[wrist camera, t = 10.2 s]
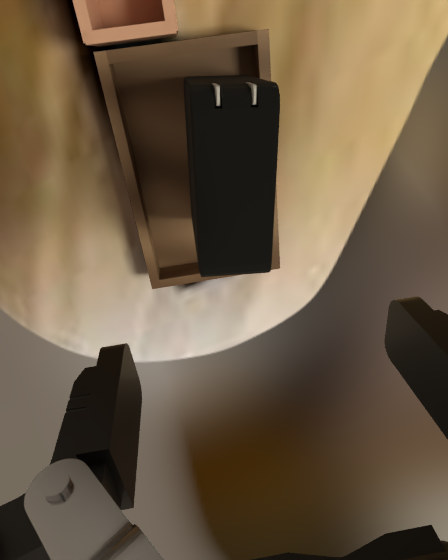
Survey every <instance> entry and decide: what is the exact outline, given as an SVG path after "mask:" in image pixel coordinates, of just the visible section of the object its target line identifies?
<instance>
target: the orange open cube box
mask: <svg viewBox="0 0 448 560" xmlns="http://www.w3.org/2000/svg"><path fill="white" fill-rule="evenodd" d="M73 4H74V8H75V12H76V15H77V19H78V23H79V27H80V31H81V35H82V39H83V43H86V45H90V46H98V47H103V46H111V45H118V44H126V43H133V42H141V41H148V40H156V39H163V38H171V37H176V35H177V33H178V26H177V19H176V13H175V6H174V0H73Z"/></svg>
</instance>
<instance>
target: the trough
mask: <svg viewBox="0 0 448 560" xmlns="http://www.w3.org/2000/svg"><path fill="white" fill-rule="evenodd" d="M94 56H95V60H96V64H97V68H98V72H99V76H100V81H101V85H102V89H103V93H104V97H105V101H106V105H107V109H108V113H109V117H110V121H111V125H112V129H113V133H114V137H115V141H116V145H117V149H118V153H119V157H120V161H121V165H122V169H123V173H124V177H125V181H126V185H127V189H128V193H129V197H130V201H131V205H132V209H133V213H134V217H135V221H136V225H137V229H138V233H139V237H140V241H141V246H142V250H143V254H144V258H145V262H146V266H147V270H148V274H149V278H150V282H151V286H152V289H155V288H162V287H168V286H174V285H180V284H186V283H192V282H199V281H205V280H211V279H217V278H223V277H229V276H236V275H226V276H212V277H201V275H200V272H199V268H198V261H197V253H196V246H195V239H194V231H193V224H192V215H191V200H190V184H189V168H188V151H187V135H186V119H185V102H184V78H185V77H188V76H230V75H248V76H252V77H256V78H260V79H263V80H267V81H271V69H270V48H269V29H264V30H256V31H249V32H241V33H234V34H226V35H219V36H211V37H204V38H196V39H189V40H181V41H174V42H166V43H159V44H151V45H144V46H136V47H129V48H121V49H114V50H106V51H99V52H94ZM279 268H280V257H279V236H278V215H277V194H276V191H275V210H274V229H273V249H272V265H271V270H273V269H279ZM239 275H242V274H239Z"/></svg>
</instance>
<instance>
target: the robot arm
mask: <svg viewBox="0 0 448 560" xmlns="http://www.w3.org/2000/svg"><path fill="white" fill-rule="evenodd" d="M385 348H386V352H387V354H388V357H389V358H390V360H391V362H392V363H393V364H394V366H395V367H396V369H397V370H398V371H399V372H400V374H401V375H402V377H403V378H404V379H405V381H406V382H407V384H408V385H409V386H410V388H411V389H412V391H413V392H414V393H415V395H416V396H417V398H418V399H419V400H420V402H421V403H422V405H423V406H424V407H425V409H426V410H427V411H428V413H429V414H430V416H431V417H432V418H433V420H434V421H435V423H436V424H437V425H438V427H439V428H440V429H441V431H442V432H443V434H444V435H445V436H446V438H447V439H448V315H447V314H446V313H444V312H442V311H440V310H435V311H434V310H433V309H432V308H430V306H429V305H428V304H427V303H426V302H424V301H423V300H422V299H421V298H420V297H411V298H404V299H398V300H393V301H391V303H390V305H389V311H388V319H387V327H386V334H385ZM141 405H142V392H141V385H140V381H139V377H138V374H137V371H136V367H135V364H134V361H133V357H132V354H131V351H130V348H129V346H128V344H127V343H126V344H120V345H114V346H108V347H102V348H101V349H100V352H99V357H98V361H97V365H96V366H94V367H88V368H85V369H84V370H83V371H82V373H81V374H80V375H79V376H78V378H77V379H76V380H75V382H74V384H73V388H72V391H71V394H70V400H69V401H68V405H67V408H66V413H65V415H64V419H63V422H62V426H61V429H60V432H59V436H58V439H57V443H56V446H55V450H54V453H53V457H52V460H51V463H50V465H49V466H47V467H46V468H45V469H43V470H42V471H41V472H40V473H39V474H38V475H37V476H36V477H35V478H34V479H33V481H32V482H31V484H30V485H29V487H28V489H27V491H26V493H25V494H23V495H22V496H20V497H18V498H16V499H15V500H12V501H10V502H8V503H6V504H4V505H2V506H0V560H164V559H163V558H162V557H161V555H160V554H159V553H158V551H157V550H156V549H155V547H154V546H153V545H152V544H151V542H150V541H149V540H148V538H147V537H146V536H145V535H144V533H143V532H142V531H141V530H140V528H139V527H138V526H137V525H135V524H134V525H132V524H131V523H130V522H129V520H128V519H127V518H126V516H125V515H124V514H123V513H122V511H121V510H124V509H129V508H133V507H134V495H135V482H136V469H137V457H138V444H139V431H140V418H141ZM253 560H448V542H446V541H440V539H439V538H438V536H437V534H436V532H435V530H434V529H433V527H432V525H428V526H423V527H418V528H413V529H407V530H403V531H397V532H392V533H387V534H384V535H382V536H380V537H379V538H377V539H375V540H373V541H372V542H370V543H368V544H366V545H364V546H363V547H361V548H359V549H357V550H356V551H354V552H352V553H350V554H348V555H347V556H344V557H326V556H317V555H307V554H297V553H284V554H279V555H273V556H268V557H263V558H259V559H253Z"/></svg>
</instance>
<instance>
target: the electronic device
mask: <svg viewBox="0 0 448 560" xmlns="http://www.w3.org/2000/svg"><path fill="white" fill-rule="evenodd" d="M184 102H185V119H186V135H187V151H188V168H189V184H190V200H191V215H192V224H193V231H194V239H195V246H196V253H197V261H198V268H199V272H200V275H201V277H212V276H226V275H239V274H253V273H266V272H270V270H271V265H272V249H273V229H274V210H275V191H276V171H277V152H278V132H279V113H280V94H279V88H278V85H277V84H276V83H275V82H271V81H267V80H263V79H260V78H256V77H252V76H248V75H230V76H188V77H185V78H184Z"/></svg>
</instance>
